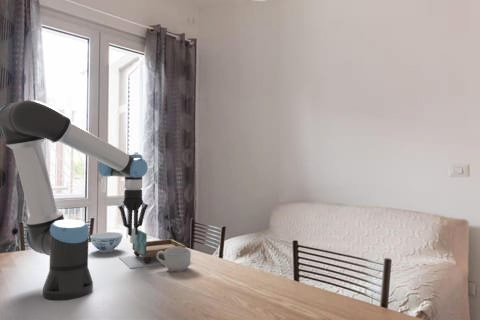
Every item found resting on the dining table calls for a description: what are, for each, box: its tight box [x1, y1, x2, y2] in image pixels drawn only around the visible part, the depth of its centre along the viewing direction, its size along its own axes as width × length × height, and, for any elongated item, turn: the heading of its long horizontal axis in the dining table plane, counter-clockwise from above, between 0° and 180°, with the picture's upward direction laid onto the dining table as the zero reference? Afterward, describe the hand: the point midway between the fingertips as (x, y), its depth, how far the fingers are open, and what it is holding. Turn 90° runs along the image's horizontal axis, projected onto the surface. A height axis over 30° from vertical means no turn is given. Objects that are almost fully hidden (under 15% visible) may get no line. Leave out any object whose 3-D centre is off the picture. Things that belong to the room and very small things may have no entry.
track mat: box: [118, 254, 165, 270], centre depth 160 cm, size 19×26×1 cm
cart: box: [132, 228, 186, 264], centre depth 161 cm, size 17×19×13 cm
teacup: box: [156, 247, 192, 273], centre depth 145 cm, size 14×11×8 cm
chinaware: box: [89, 231, 123, 253], centre depth 173 cm, size 15×15×8 cm
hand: (132, 242), depth 155 cm, fingers closed
